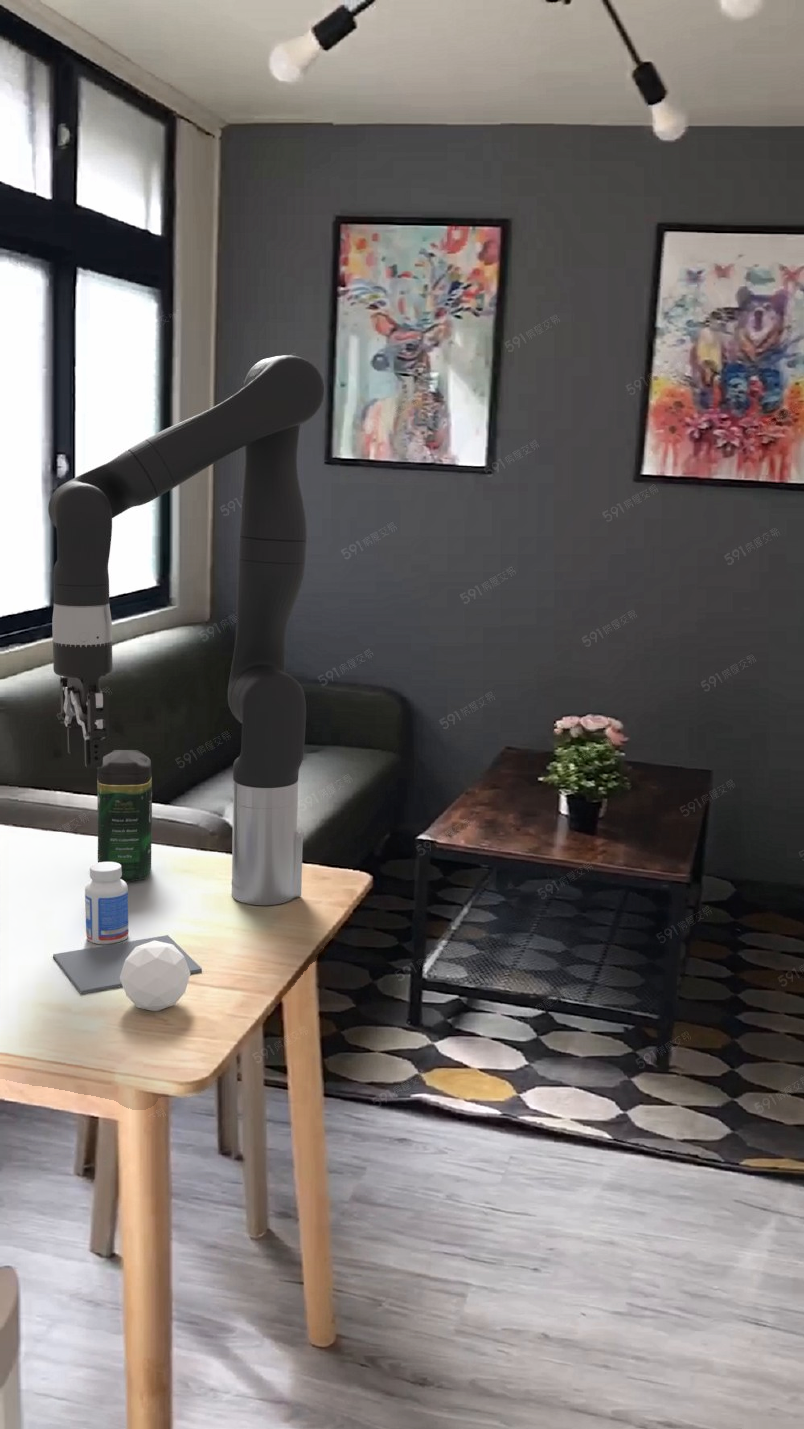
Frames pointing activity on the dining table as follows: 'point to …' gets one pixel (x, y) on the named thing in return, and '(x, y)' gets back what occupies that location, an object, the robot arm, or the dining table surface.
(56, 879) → the dining table surface
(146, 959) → the geometric ball
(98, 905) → the pill bottle
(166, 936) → the mat
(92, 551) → the robot arm
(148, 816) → the coffee jar
